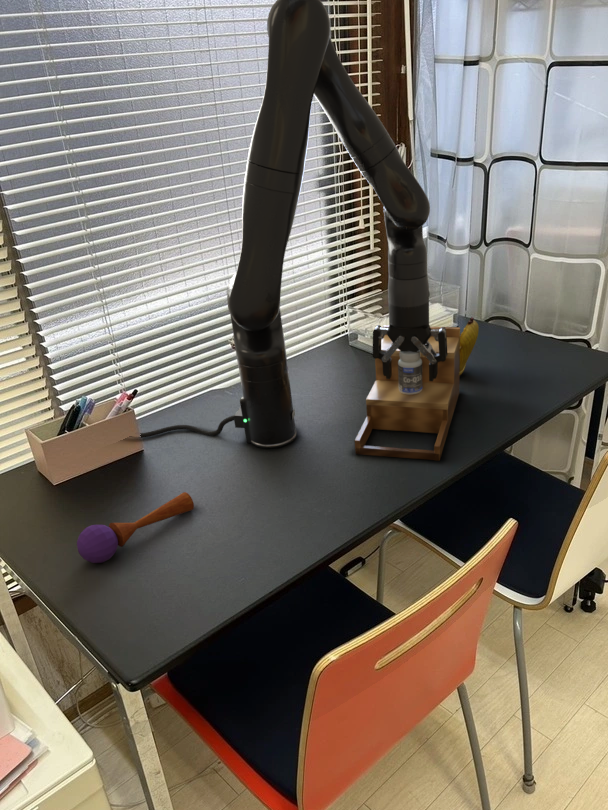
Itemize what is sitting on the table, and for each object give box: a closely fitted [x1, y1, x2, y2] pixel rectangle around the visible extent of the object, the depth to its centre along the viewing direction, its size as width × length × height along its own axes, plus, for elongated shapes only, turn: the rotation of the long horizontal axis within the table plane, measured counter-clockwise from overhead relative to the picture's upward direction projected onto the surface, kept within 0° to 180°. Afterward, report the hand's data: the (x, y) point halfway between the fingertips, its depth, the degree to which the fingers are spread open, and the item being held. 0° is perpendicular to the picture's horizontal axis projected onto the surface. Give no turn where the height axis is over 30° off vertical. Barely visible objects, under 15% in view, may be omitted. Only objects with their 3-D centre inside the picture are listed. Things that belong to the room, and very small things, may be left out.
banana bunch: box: [459, 316, 480, 377], centre depth 156 cm, size 12×8×15 cm
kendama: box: [76, 491, 195, 564], centre depth 115 cm, size 6×6×20 cm
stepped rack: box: [354, 324, 461, 461], centre depth 139 cm, size 16×28×15 cm, turn 165°
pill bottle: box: [398, 350, 422, 395], centre depth 138 cm, size 5×5×8 cm
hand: (410, 378), depth 139 cm, fingers open, 8 cm apart
